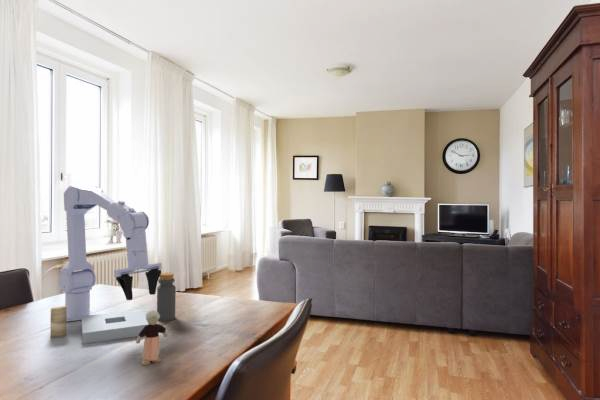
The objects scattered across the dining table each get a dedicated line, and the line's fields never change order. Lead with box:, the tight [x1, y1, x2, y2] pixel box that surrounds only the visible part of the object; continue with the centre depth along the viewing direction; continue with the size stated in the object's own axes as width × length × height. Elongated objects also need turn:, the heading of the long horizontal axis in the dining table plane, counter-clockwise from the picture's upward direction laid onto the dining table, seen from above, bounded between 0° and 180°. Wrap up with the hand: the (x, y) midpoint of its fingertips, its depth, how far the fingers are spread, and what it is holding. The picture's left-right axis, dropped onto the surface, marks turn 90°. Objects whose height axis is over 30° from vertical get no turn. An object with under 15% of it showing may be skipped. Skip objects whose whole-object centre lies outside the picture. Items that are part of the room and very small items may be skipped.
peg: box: [49, 305, 68, 339], centre depth 119 cm, size 4×4×8 cm
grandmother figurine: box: [135, 309, 169, 366], centre depth 101 cm, size 8×4×13 cm, turn 139°
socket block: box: [80, 308, 149, 345], centre depth 124 cm, size 18×18×3 cm
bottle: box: [156, 272, 177, 322], centre depth 136 cm, size 6×6×15 cm
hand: (141, 297), depth 122 cm, fingers open, 7 cm apart
